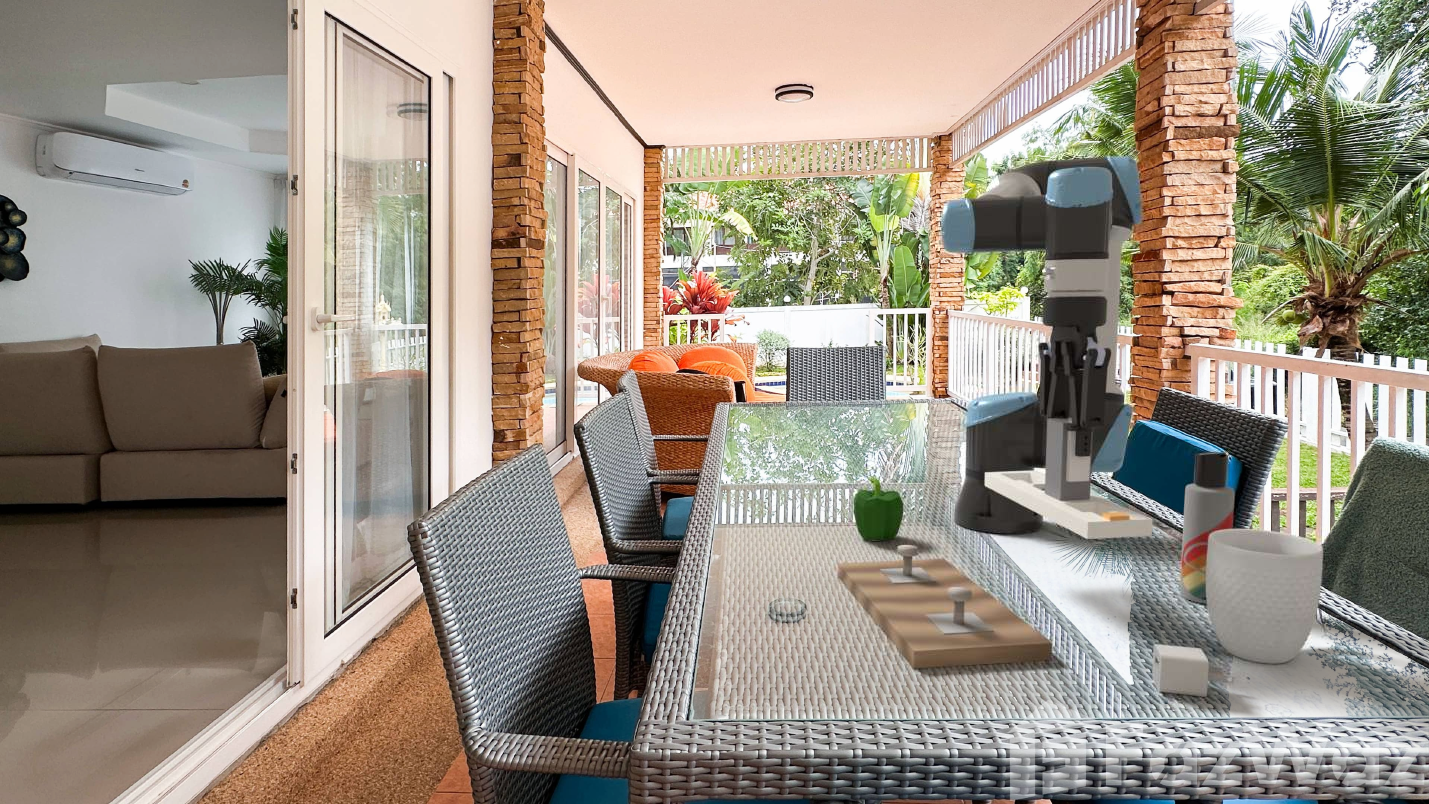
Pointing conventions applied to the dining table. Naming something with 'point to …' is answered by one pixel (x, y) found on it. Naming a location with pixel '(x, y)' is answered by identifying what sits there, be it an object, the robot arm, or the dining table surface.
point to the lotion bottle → (1204, 520)
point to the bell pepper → (878, 513)
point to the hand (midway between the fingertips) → (1067, 476)
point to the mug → (1262, 592)
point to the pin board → (940, 613)
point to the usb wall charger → (1184, 670)
